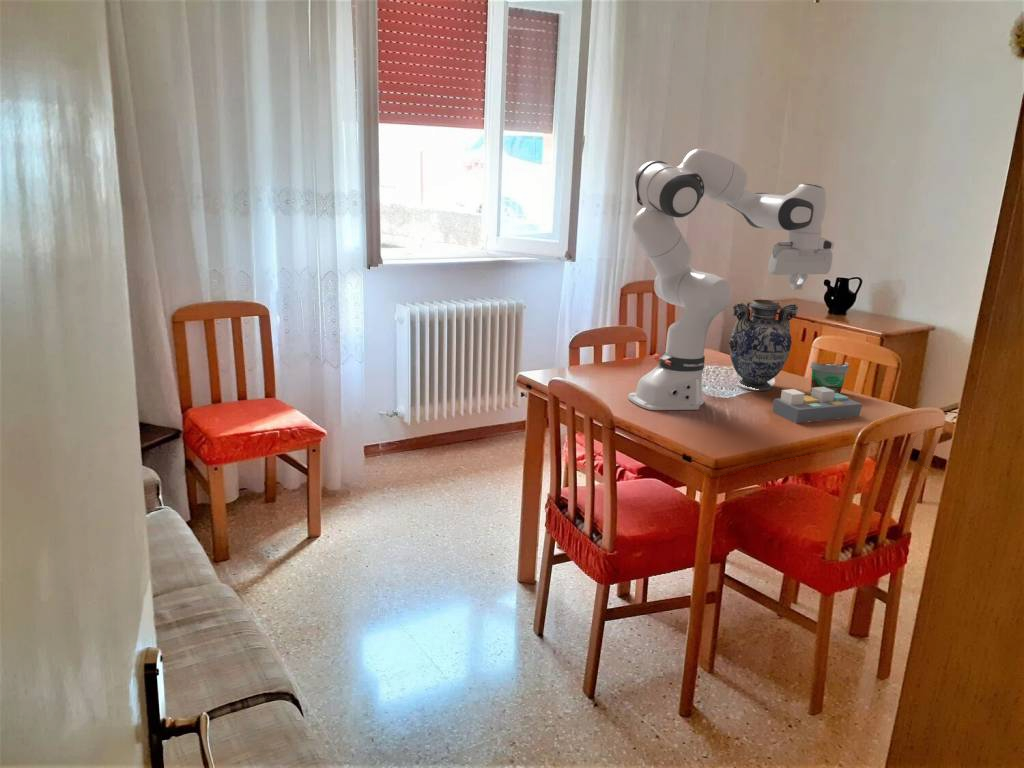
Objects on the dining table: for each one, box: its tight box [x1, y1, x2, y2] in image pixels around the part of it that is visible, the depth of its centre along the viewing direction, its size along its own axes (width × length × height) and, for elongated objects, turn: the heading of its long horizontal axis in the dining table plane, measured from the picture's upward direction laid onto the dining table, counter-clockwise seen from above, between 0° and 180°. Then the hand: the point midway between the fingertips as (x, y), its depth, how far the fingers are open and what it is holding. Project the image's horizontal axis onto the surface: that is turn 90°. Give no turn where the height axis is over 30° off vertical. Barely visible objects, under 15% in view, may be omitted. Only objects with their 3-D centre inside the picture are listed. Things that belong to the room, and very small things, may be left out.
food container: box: [810, 361, 850, 394], centre depth 236 cm, size 12×6×10 cm, turn 99°
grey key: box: [810, 387, 835, 402], centre depth 219 cm, size 4×4×4 cm
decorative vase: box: [728, 299, 799, 392], centre depth 239 cm, size 21×19×28 cm
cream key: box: [780, 388, 806, 405], centre depth 215 cm, size 4×4×4 cm
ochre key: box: [803, 395, 819, 404], centre depth 217 cm, size 4×4×4 cm
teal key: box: [834, 393, 849, 401], centre depth 221 cm, size 4×4×4 cm
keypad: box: [772, 397, 863, 424], centre depth 217 cm, size 23×10×4 cm, turn 111°
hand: (796, 289), depth 221 cm, fingers closed
